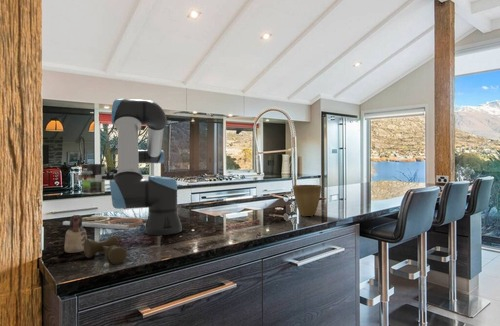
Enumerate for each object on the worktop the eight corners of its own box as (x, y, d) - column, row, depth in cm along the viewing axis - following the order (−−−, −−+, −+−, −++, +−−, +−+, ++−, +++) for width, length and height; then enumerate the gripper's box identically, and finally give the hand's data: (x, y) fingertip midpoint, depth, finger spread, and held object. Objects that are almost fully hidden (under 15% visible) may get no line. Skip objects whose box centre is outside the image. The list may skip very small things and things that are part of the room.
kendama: (101, 269, 98) (79, 253, 112) (134, 263, 104) (108, 248, 119) (102, 248, 98) (79, 235, 112) (134, 243, 104) (109, 231, 119)
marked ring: (148, 222, 166) (148, 219, 166) (127, 228, 151) (127, 225, 151) (122, 220, 170) (122, 217, 170) (100, 226, 156) (100, 223, 156)
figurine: (89, 246, 121) (88, 212, 121) (86, 251, 114) (86, 215, 114) (66, 248, 119) (66, 213, 119) (62, 253, 112) (62, 217, 112)
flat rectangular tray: (152, 221, 167) (152, 218, 167) (126, 229, 149) (126, 226, 149) (93, 218, 179) (93, 215, 179) (62, 224, 161) (62, 221, 161)
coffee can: (93, 194, 160) (93, 164, 160) (76, 194, 164) (76, 164, 164) (110, 192, 170) (109, 164, 169) (94, 191, 173) (93, 163, 173)
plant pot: (321, 213, 188) (321, 184, 188) (321, 218, 173) (321, 186, 173) (294, 212, 191) (294, 184, 191) (291, 217, 177) (291, 186, 176)
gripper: (136, 182, 180) (106, 186, 159) (101, 182, 187) (68, 185, 166) (136, 168, 180) (106, 170, 159) (101, 168, 187) (68, 169, 166)
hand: (86, 177), depth 163 cm, fingers closed on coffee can, 10 cm apart
